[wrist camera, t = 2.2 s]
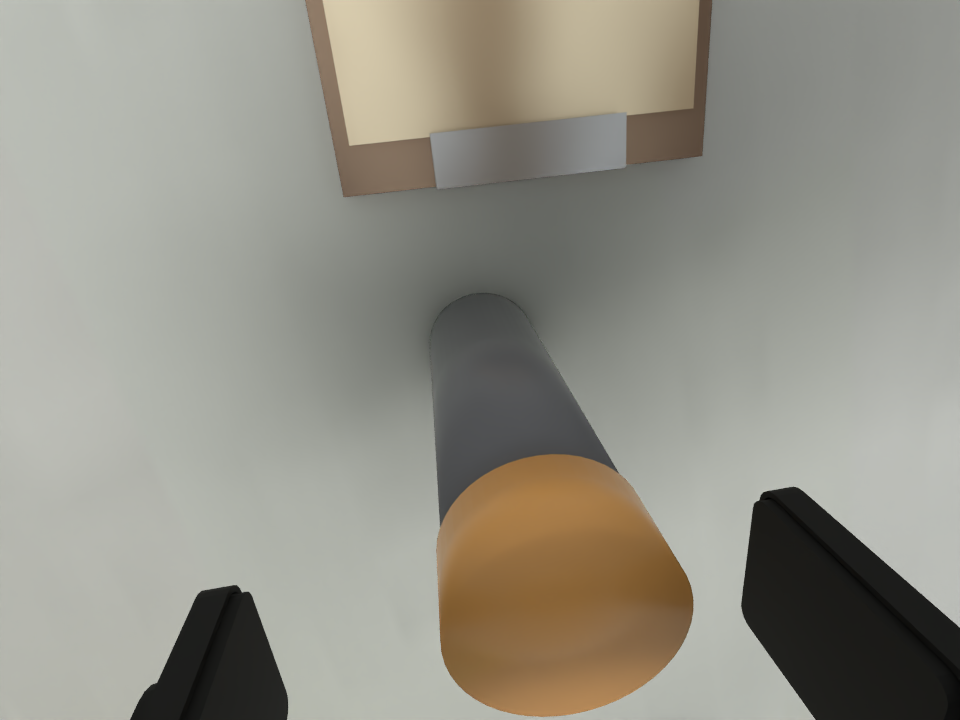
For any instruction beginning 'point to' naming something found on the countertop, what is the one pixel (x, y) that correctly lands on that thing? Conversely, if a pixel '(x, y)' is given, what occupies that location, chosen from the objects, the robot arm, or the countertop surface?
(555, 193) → the countertop surface
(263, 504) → the countertop surface
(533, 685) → the marker
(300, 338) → the countertop surface
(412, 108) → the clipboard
